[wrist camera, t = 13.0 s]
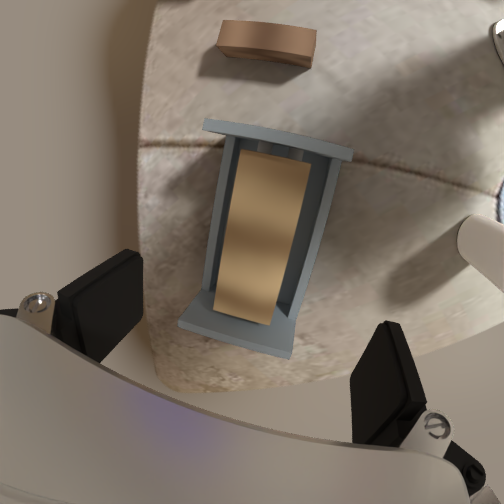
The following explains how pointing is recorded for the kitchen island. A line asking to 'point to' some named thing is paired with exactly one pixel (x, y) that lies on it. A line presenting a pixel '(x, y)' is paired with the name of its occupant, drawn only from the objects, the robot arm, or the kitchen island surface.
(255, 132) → the bed
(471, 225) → the can
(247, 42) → the block
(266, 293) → the board
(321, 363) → the kitchen island surface
